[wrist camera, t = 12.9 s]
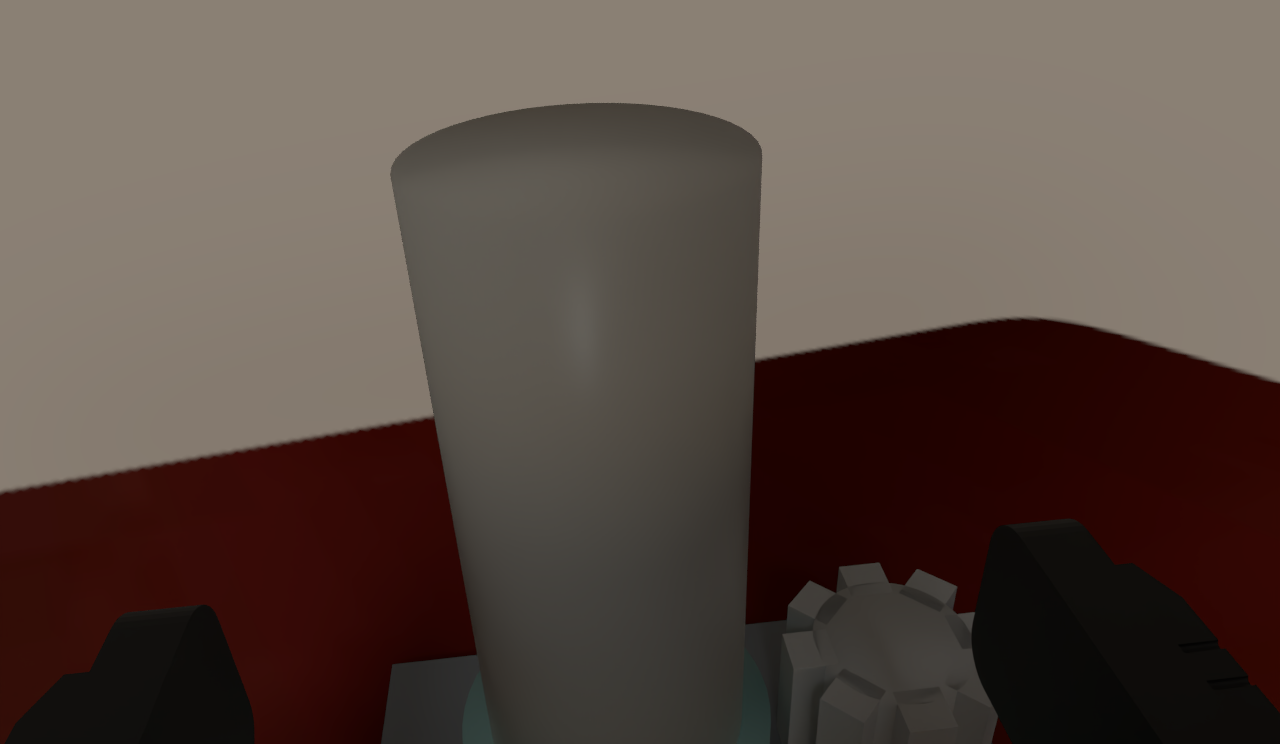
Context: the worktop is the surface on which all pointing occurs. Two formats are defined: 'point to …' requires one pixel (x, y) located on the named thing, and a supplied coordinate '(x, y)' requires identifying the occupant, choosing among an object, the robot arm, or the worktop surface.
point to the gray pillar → (595, 413)
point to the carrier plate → (799, 670)
